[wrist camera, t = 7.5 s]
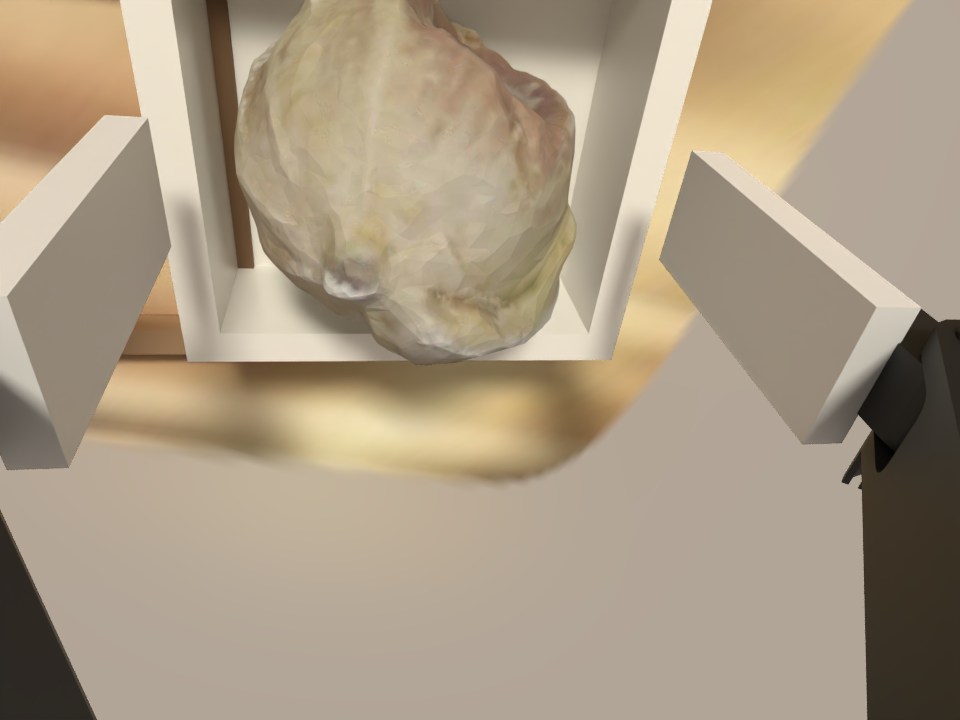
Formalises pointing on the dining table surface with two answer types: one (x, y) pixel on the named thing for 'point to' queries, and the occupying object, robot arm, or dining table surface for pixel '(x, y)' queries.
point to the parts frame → (166, 329)
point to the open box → (526, 47)
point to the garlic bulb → (408, 177)
